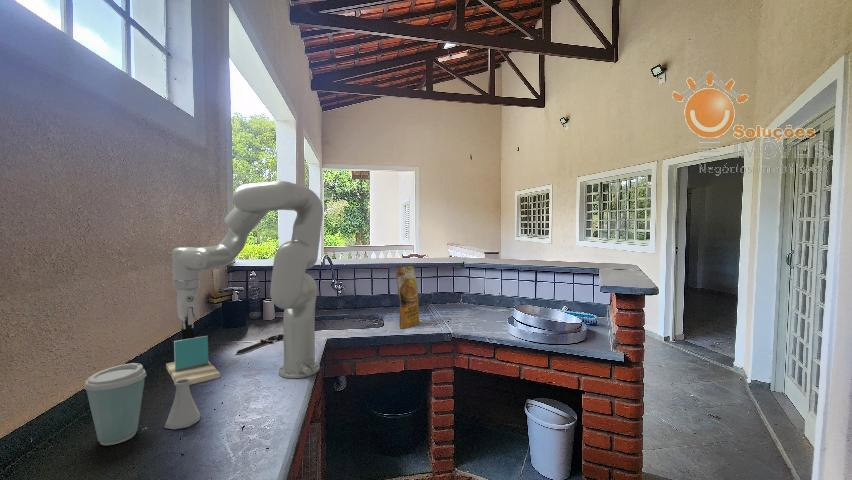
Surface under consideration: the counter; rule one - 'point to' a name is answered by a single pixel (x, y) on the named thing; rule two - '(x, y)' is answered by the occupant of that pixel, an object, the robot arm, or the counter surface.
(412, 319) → the pancake mix bag
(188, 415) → the flask
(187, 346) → the tile
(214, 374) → the board
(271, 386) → the counter surface
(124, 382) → the disposable coffee cup
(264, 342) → the knife
